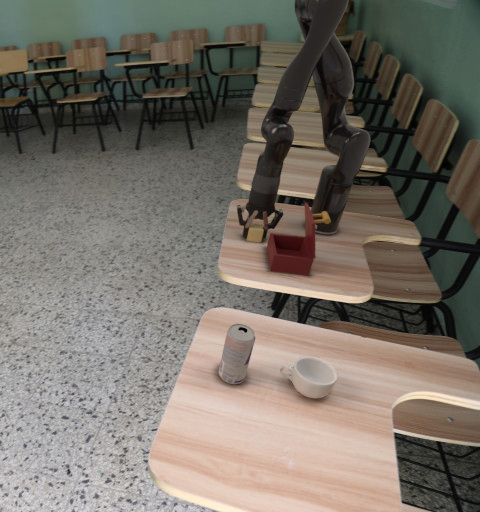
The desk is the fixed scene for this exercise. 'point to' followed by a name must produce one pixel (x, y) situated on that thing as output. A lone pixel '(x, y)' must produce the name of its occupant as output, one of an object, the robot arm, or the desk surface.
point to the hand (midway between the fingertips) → (253, 237)
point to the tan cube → (255, 232)
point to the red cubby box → (289, 254)
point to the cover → (313, 226)
